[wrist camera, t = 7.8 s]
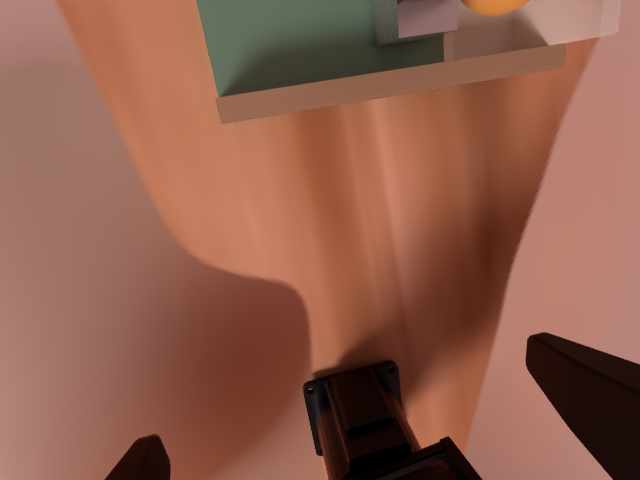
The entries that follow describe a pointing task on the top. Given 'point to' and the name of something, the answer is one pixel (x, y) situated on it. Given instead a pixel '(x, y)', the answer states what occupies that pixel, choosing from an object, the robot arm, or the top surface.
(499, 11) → the ball
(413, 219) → the top surface
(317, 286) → the top surface
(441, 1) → the block
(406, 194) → the top surface
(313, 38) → the pitch
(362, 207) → the top surface
